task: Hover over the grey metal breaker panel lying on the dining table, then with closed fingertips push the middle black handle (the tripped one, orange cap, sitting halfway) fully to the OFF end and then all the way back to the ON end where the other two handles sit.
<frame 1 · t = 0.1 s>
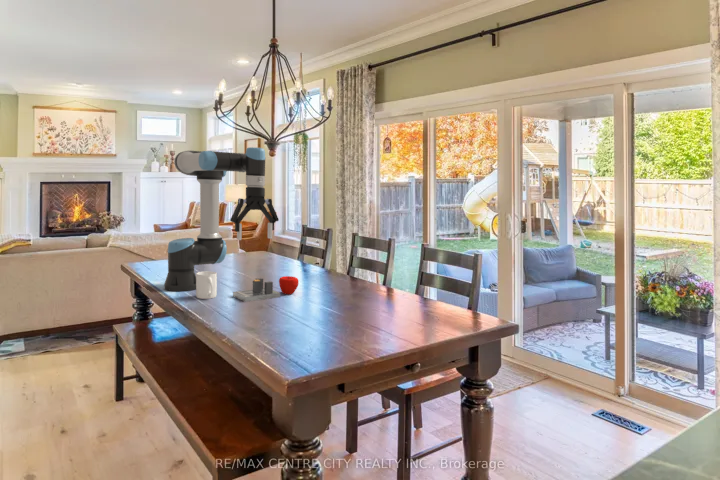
hand: (254, 239, 198), 28 cm above the table, fingers open, 13 cm apart
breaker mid: (256, 286, 217), point 5 cm above the table, slide at 0.0 cm
breaker 1: (259, 283, 223), point 5 cm above the table, slide at 3.5 cm
breaker 2: (268, 287, 216), point 5 cm above the table, slide at 3.5 cm
apple: (288, 293, 227), on the table
mug: (207, 298, 213), on the table
panel: (256, 296, 218), on the table
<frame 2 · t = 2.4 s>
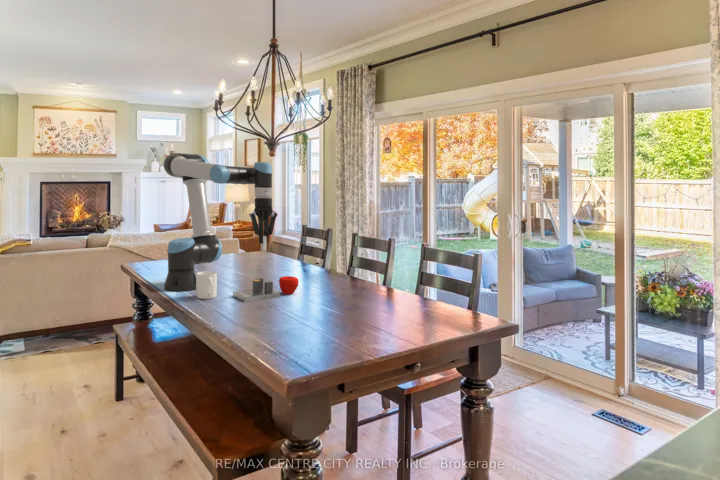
hand: (263, 250, 217), 21 cm above the table, fingers closed
nothing on the table moved.
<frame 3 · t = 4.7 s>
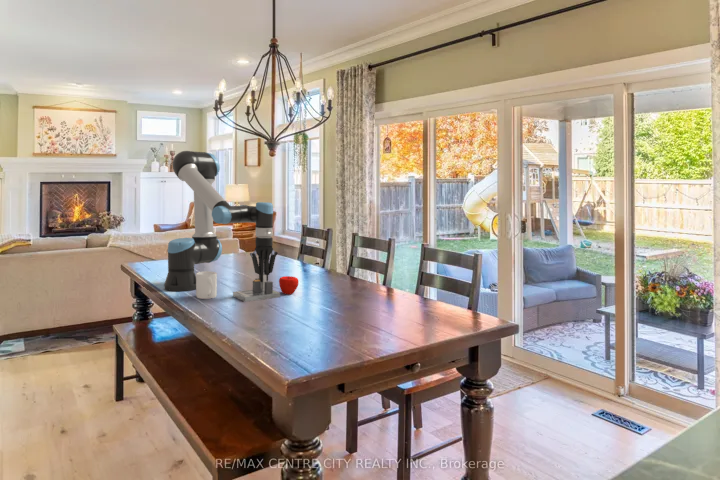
hand: (263, 288, 220), 3 cm above the table, fingers closed
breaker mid: (256, 286, 217), point 5 cm above the table, slide at 0.0 cm, touching gripper
everything else where it was.
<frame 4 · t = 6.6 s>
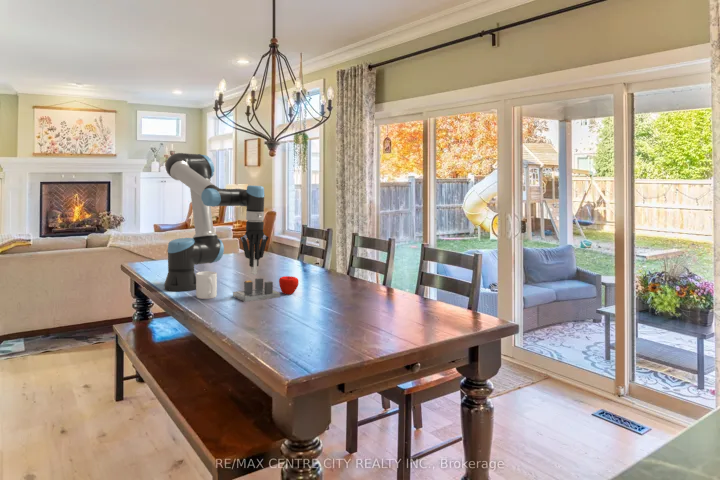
hand: (253, 273, 216), 11 cm above the table, fingers closed
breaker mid: (248, 286, 215), point 5 cm above the table, slide at -4.0 cm
everything else where it was.
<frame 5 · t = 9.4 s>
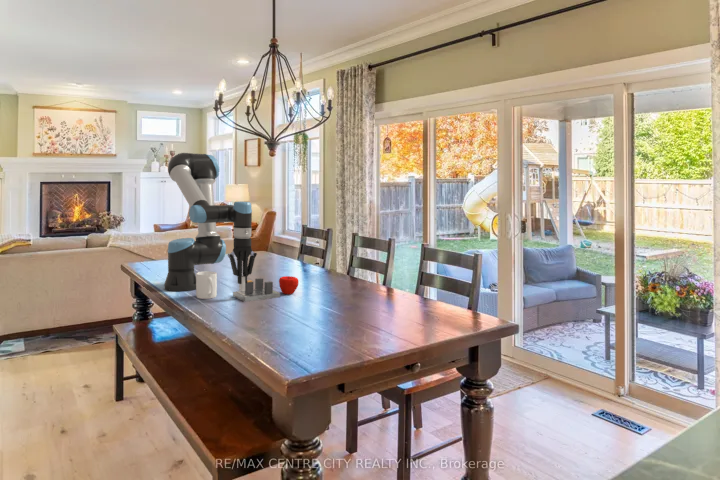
hand: (242, 290, 213), 3 cm above the table, fingers closed
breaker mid: (249, 286, 215), point 5 cm above the table, slide at -3.7 cm, touching gripper
everything else where it was.
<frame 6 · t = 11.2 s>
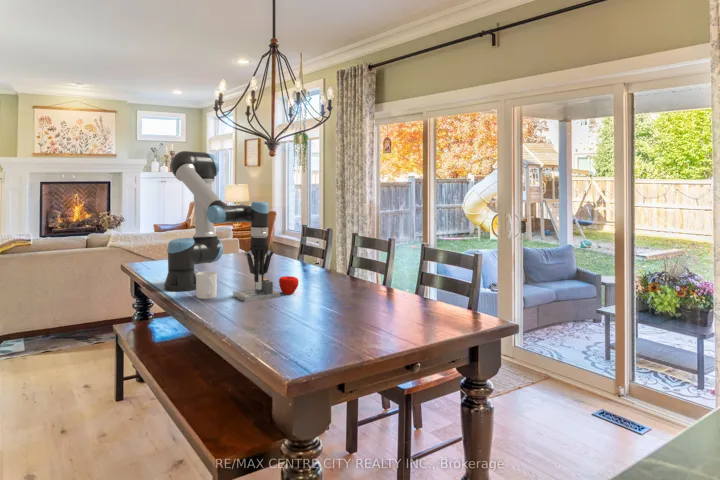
hand: (258, 288, 218), 3 cm above the table, fingers closed
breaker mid: (265, 285, 220), point 5 cm above the table, slide at 4.2 cm, touching gripper
everything else where it was.
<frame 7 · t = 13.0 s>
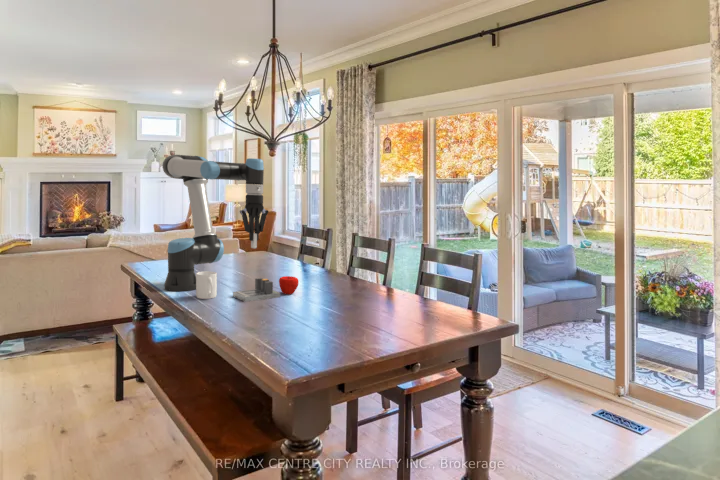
hand: (253, 247, 215), 22 cm above the table, fingers closed
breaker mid: (264, 285, 220), point 5 cm above the table, slide at 4.0 cm
everything else where it was.
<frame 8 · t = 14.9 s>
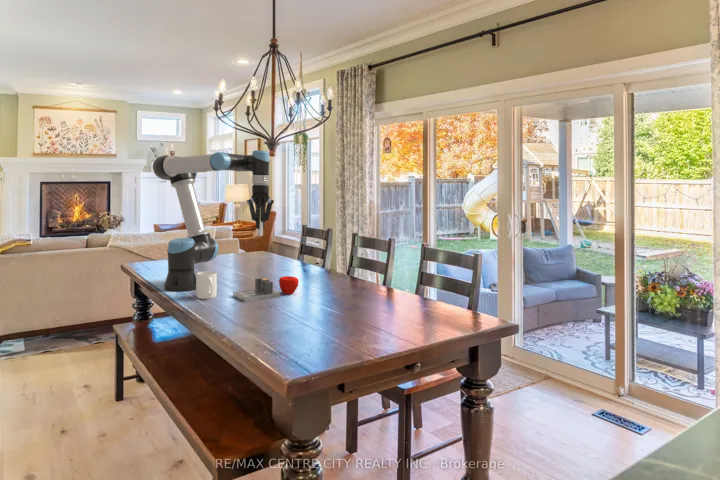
hand: (260, 235, 226), 26 cm above the table, fingers closed
nothing on the table moved.
at the end: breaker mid slide at 4.0 cm; breaker 1 slide at 3.5 cm; breaker 2 slide at 3.5 cm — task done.
